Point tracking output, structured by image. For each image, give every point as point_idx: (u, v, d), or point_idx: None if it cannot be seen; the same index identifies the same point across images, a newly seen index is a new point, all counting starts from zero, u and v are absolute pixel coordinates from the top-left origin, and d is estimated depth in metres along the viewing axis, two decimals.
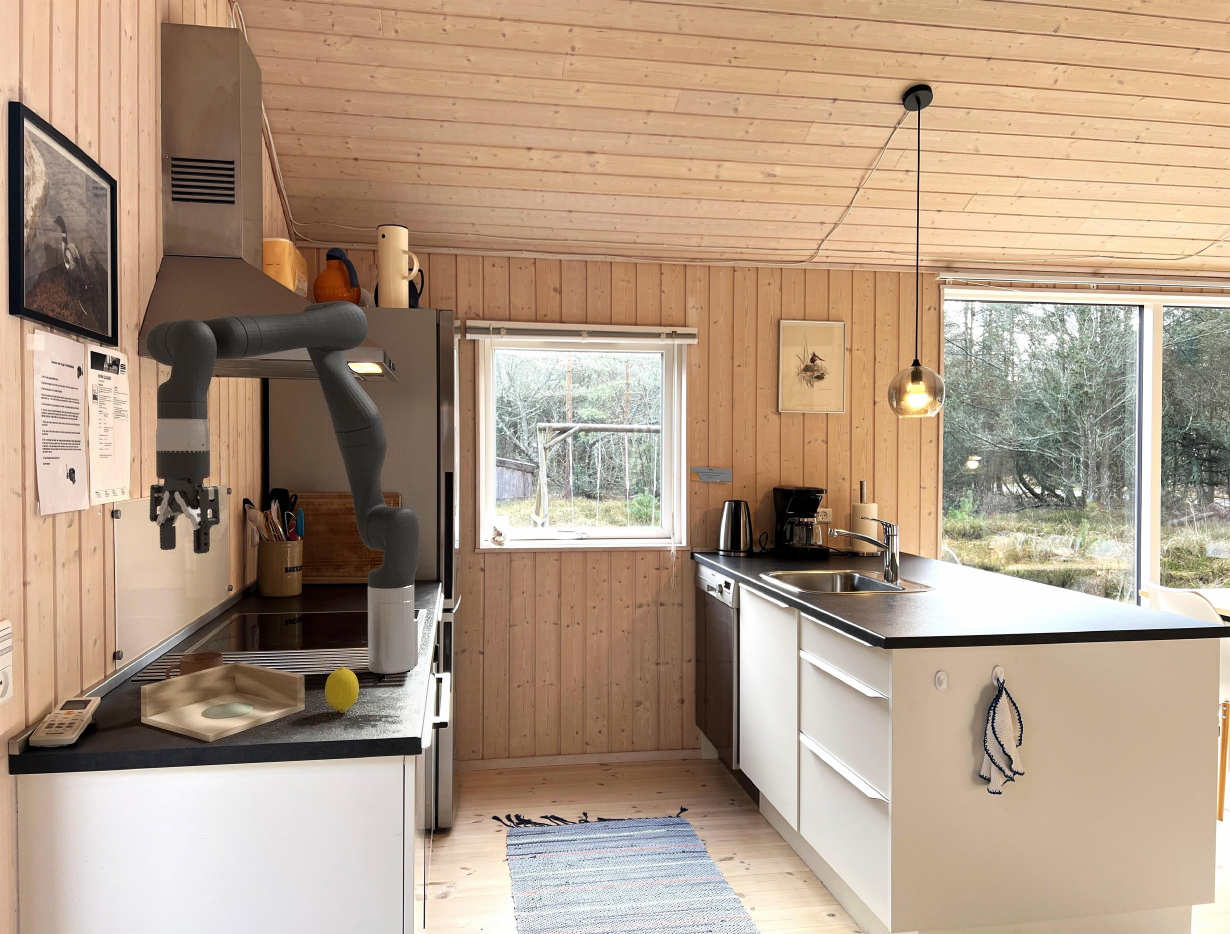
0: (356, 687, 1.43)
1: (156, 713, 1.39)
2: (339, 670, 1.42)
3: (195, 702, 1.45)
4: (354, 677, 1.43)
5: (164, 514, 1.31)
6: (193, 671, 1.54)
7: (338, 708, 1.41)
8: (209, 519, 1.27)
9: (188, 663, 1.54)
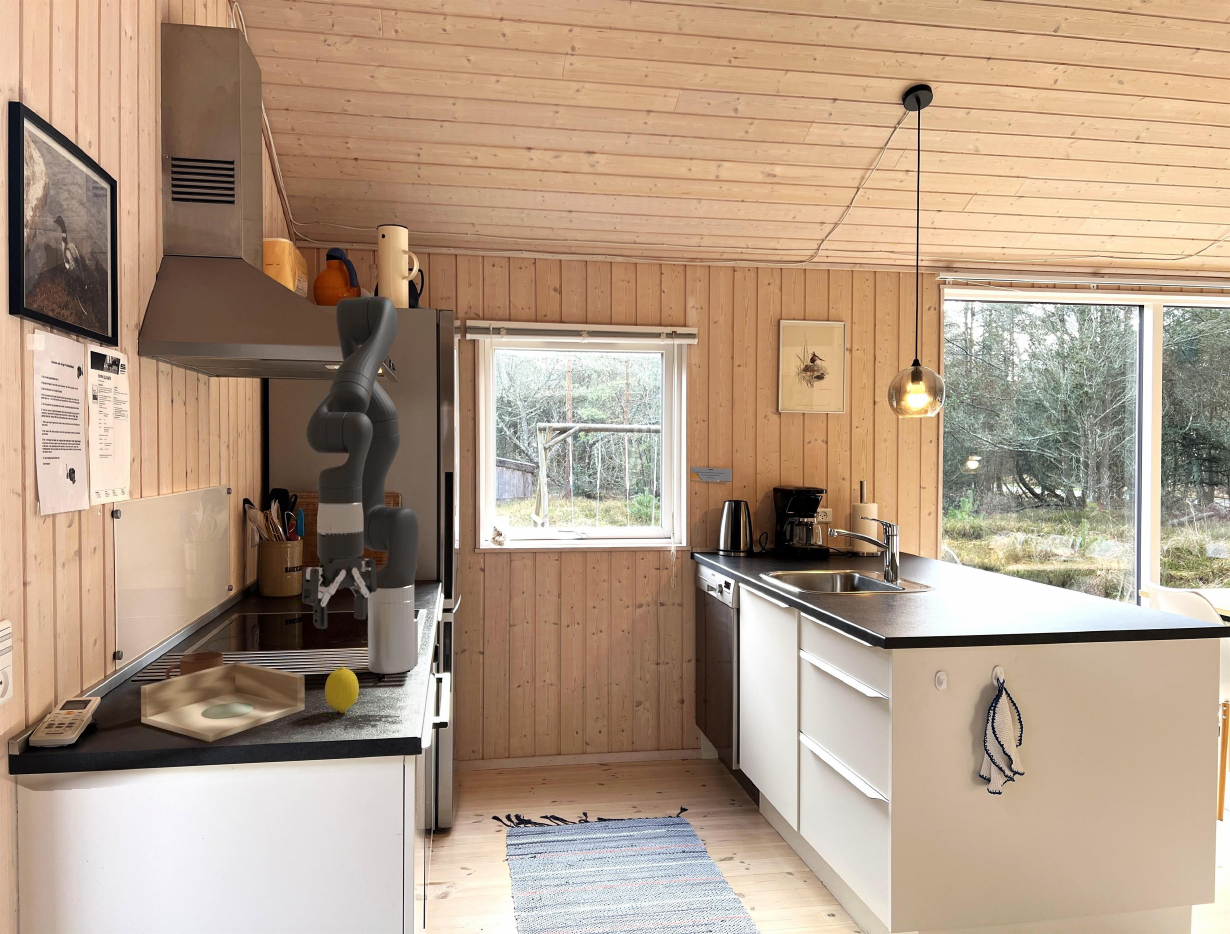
0: (356, 687, 1.43)
1: (156, 713, 1.39)
2: (339, 670, 1.42)
3: (195, 702, 1.45)
4: (354, 677, 1.43)
5: None
6: (193, 671, 1.54)
7: (338, 708, 1.41)
8: None
9: (188, 663, 1.54)
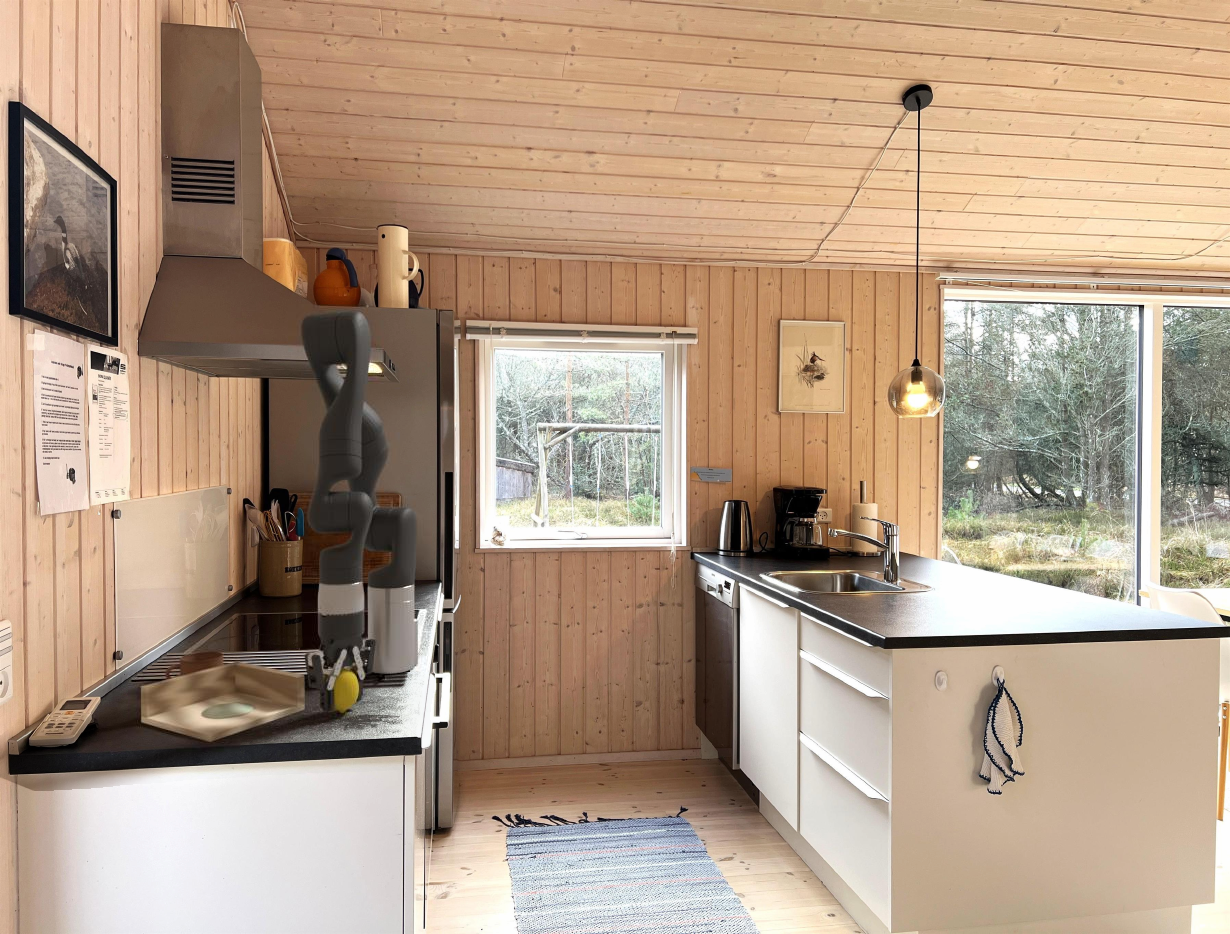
0: (356, 687, 1.43)
1: (156, 713, 1.39)
2: None
3: (195, 702, 1.45)
4: (354, 677, 1.43)
5: None
6: (193, 671, 1.54)
7: (338, 708, 1.41)
8: None
9: (188, 663, 1.54)
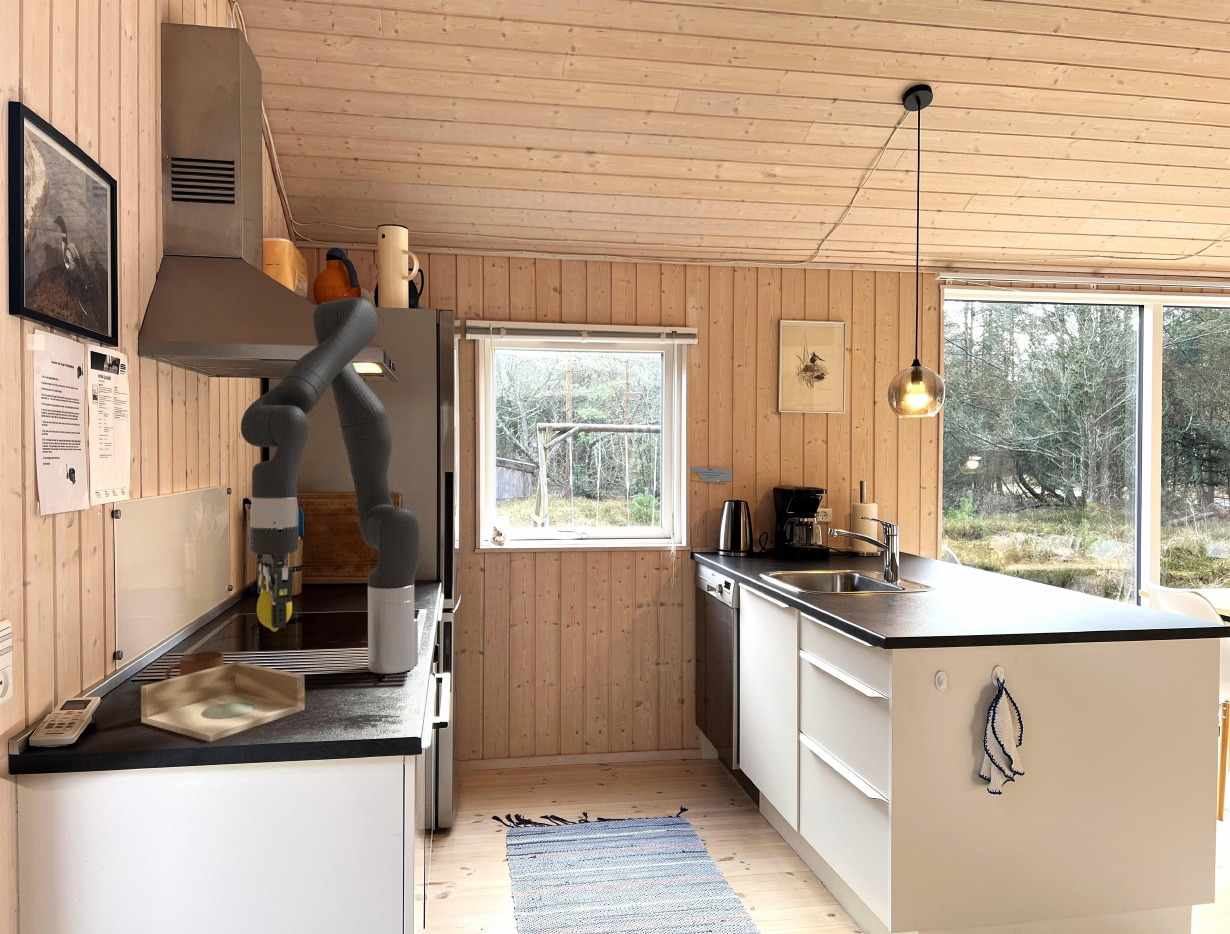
0: None
1: (156, 713, 1.39)
2: None
3: (195, 702, 1.45)
4: None
5: None
6: (193, 671, 1.54)
7: None
8: None
9: (188, 663, 1.54)
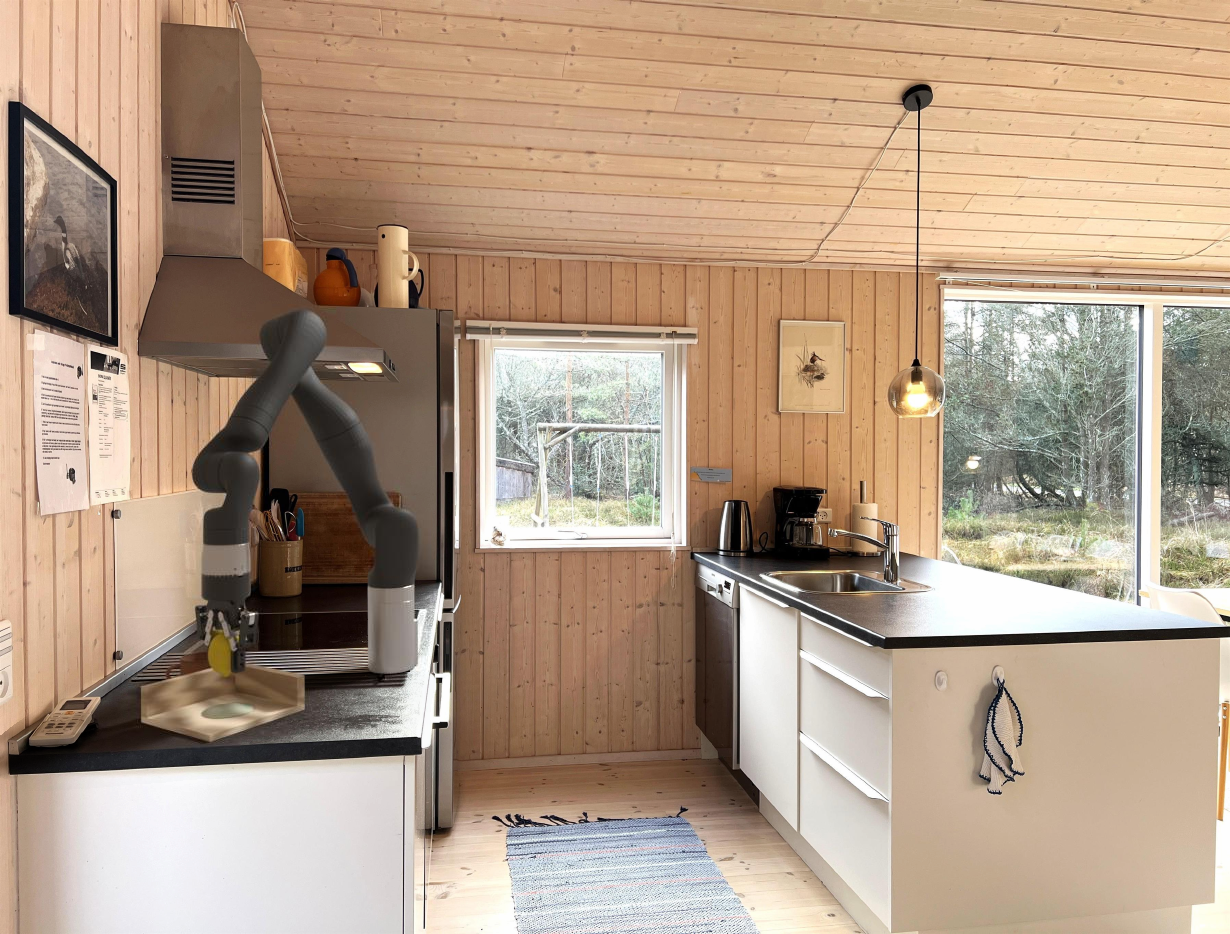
0: None
1: (156, 713, 1.39)
2: None
3: (195, 702, 1.45)
4: None
5: None
6: (193, 671, 1.54)
7: None
8: None
9: (188, 663, 1.54)
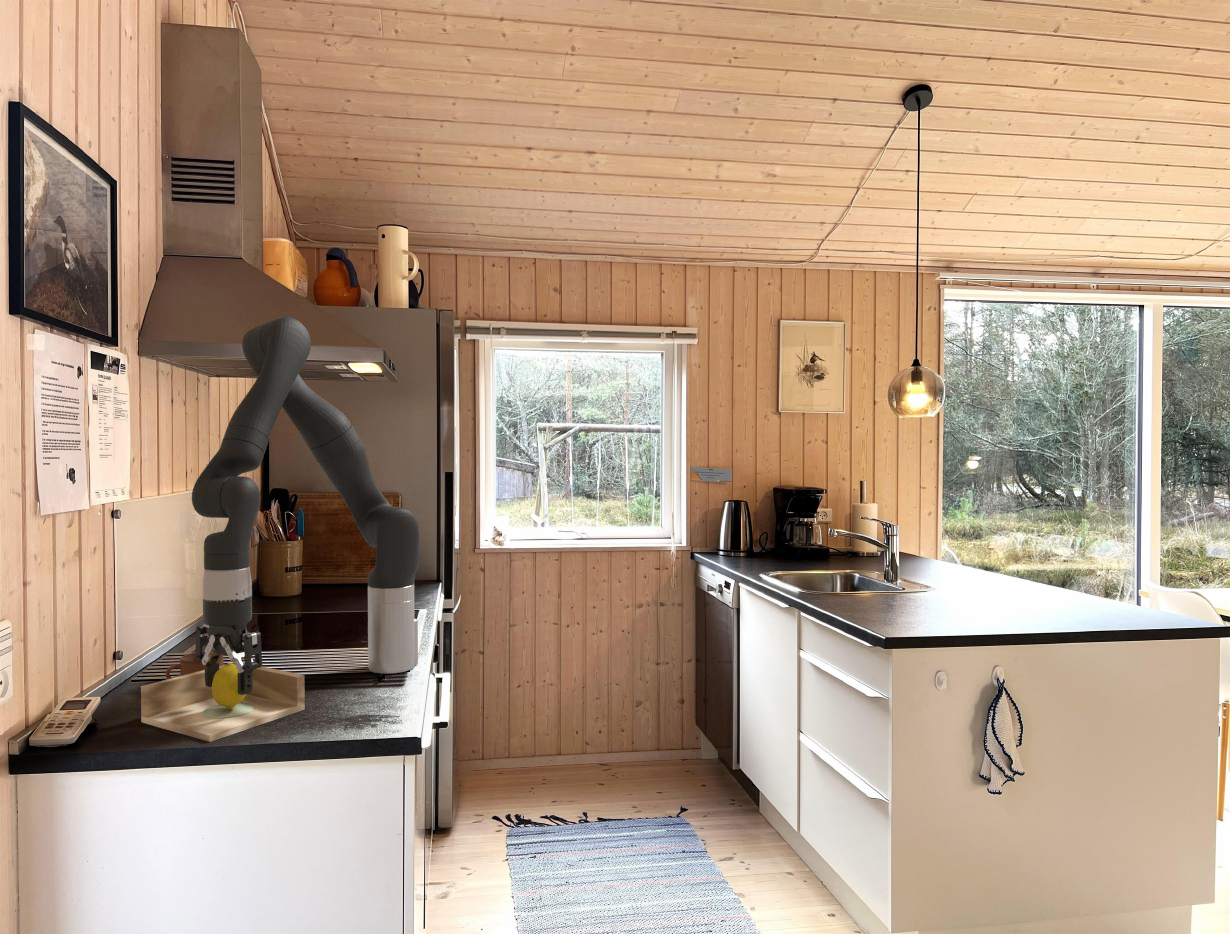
0: None
1: (156, 713, 1.39)
2: (233, 665, 1.41)
3: (195, 702, 1.45)
4: None
5: None
6: (193, 670, 1.54)
7: (240, 701, 1.41)
8: None
9: (188, 663, 1.54)
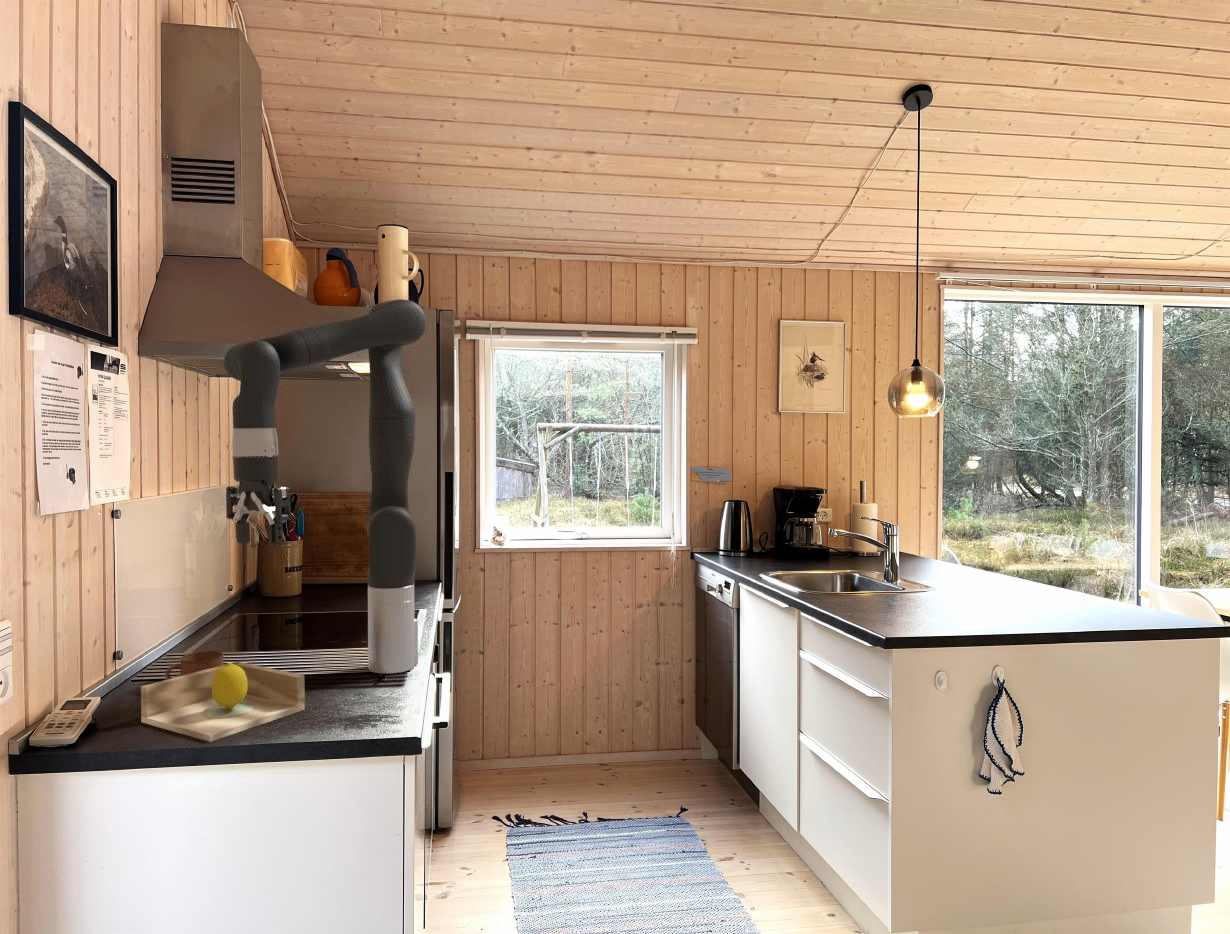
0: None
1: (156, 713, 1.39)
2: (233, 665, 1.41)
3: (195, 702, 1.45)
4: None
5: None
6: (193, 670, 1.54)
7: (240, 701, 1.41)
8: None
9: (188, 663, 1.54)
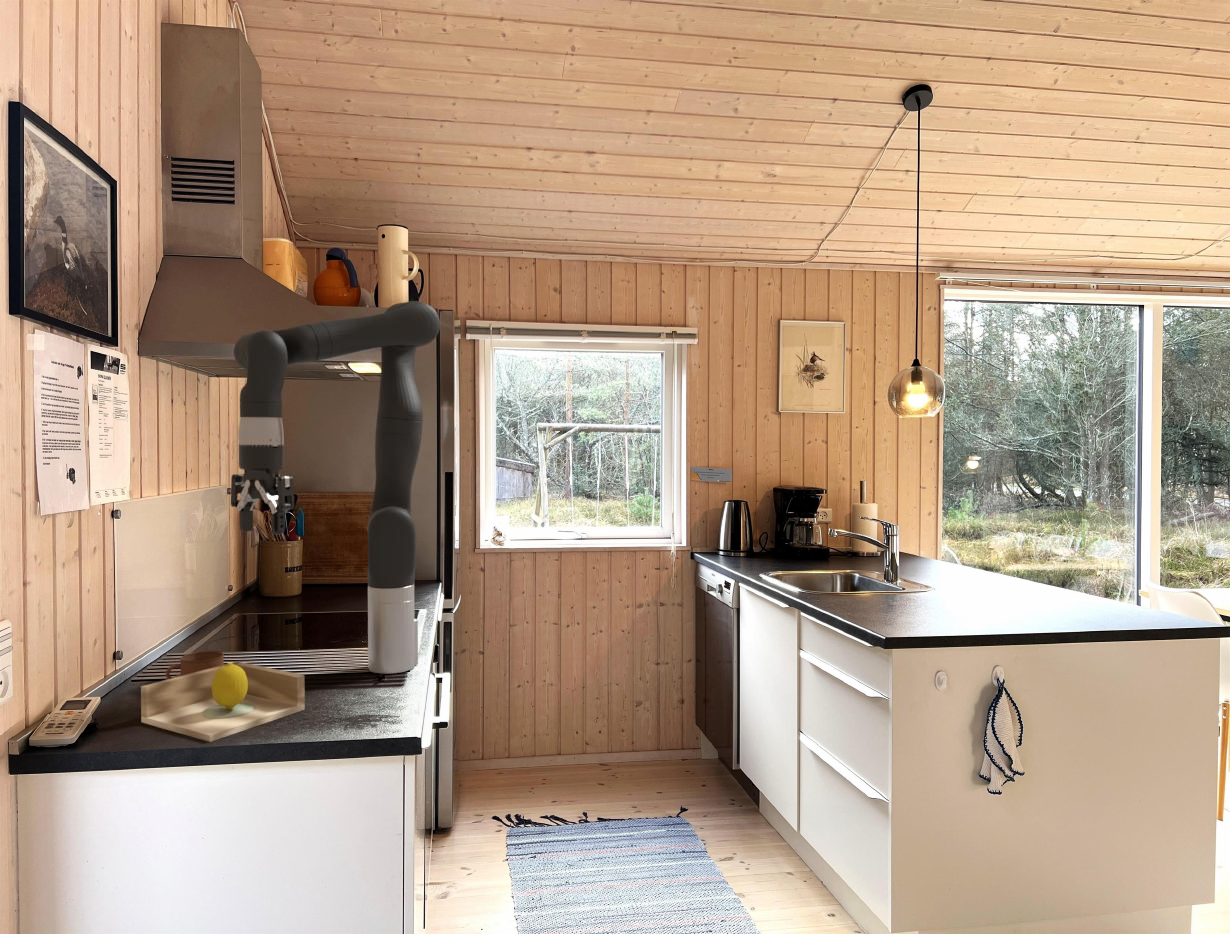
0: None
1: (156, 713, 1.39)
2: (233, 665, 1.41)
3: (195, 702, 1.45)
4: None
5: None
6: (194, 670, 1.54)
7: (240, 701, 1.41)
8: None
9: (188, 662, 1.54)
